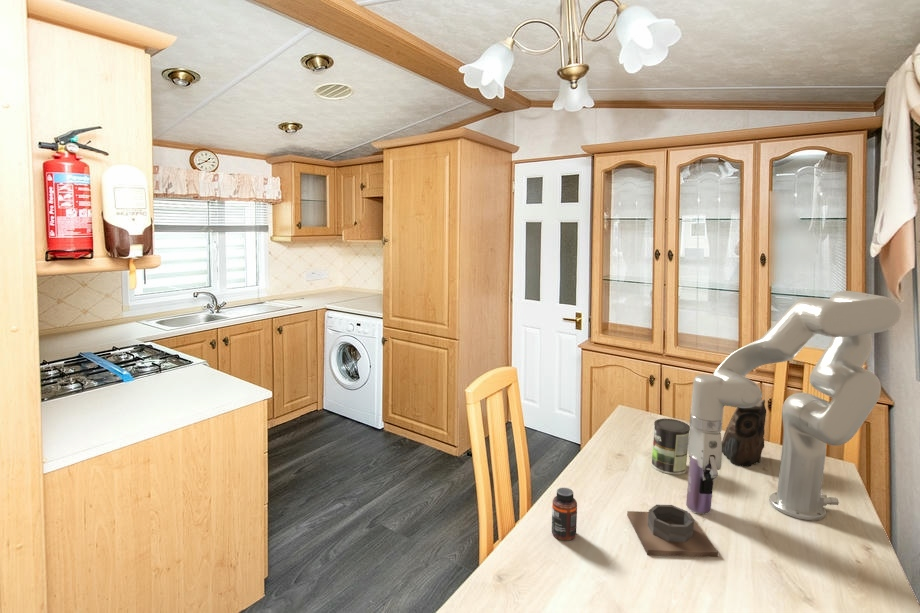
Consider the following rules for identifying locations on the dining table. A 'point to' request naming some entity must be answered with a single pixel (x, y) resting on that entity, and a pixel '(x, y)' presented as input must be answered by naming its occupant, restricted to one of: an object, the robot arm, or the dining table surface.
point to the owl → (745, 436)
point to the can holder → (670, 532)
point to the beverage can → (697, 490)
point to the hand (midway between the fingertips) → (700, 486)
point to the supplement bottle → (564, 514)
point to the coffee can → (670, 446)
